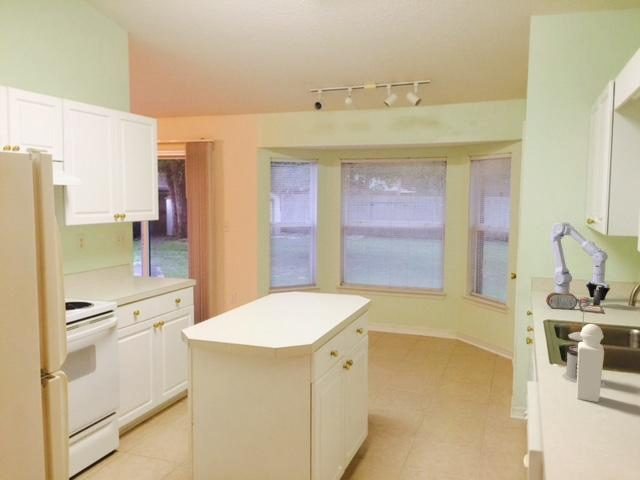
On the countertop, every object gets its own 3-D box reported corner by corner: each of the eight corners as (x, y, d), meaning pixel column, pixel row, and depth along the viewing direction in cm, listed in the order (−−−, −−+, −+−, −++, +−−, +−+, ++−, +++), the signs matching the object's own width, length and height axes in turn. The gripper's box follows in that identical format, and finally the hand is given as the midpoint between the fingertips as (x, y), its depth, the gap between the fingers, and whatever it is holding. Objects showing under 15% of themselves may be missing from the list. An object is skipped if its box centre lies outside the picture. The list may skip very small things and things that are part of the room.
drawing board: (580, 306, 272) (580, 304, 272) (601, 308, 268) (601, 307, 268) (580, 311, 261) (580, 309, 261) (602, 313, 257) (603, 311, 257)
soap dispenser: (574, 391, 154) (579, 320, 152) (599, 395, 151) (604, 323, 149) (575, 399, 148) (580, 325, 146) (600, 403, 145) (606, 328, 143)
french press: (555, 374, 169) (560, 300, 166) (585, 371, 172) (590, 299, 169) (577, 385, 159) (582, 306, 157) (608, 382, 162) (613, 305, 160)
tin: (575, 308, 268) (576, 292, 267) (577, 310, 264) (578, 294, 264) (545, 307, 269) (546, 291, 268) (547, 308, 266) (548, 293, 265)
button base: (578, 304, 277) (579, 299, 277) (589, 305, 275) (589, 300, 275) (578, 306, 273) (579, 300, 273) (589, 307, 271) (589, 301, 270)
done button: (579, 301, 277) (579, 296, 276) (588, 302, 275) (588, 297, 275) (579, 303, 273) (580, 298, 273) (589, 304, 271) (589, 299, 271)
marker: (592, 305, 275) (594, 289, 274) (599, 306, 274) (600, 289, 273) (593, 306, 272) (594, 290, 272) (599, 307, 271) (601, 290, 270)
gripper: (582, 271, 278) (581, 296, 279) (601, 276, 264) (599, 301, 265) (594, 271, 279) (592, 296, 280) (613, 275, 265) (612, 301, 266)
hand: (597, 298), depth 273 cm, fingers open, 7 cm apart
